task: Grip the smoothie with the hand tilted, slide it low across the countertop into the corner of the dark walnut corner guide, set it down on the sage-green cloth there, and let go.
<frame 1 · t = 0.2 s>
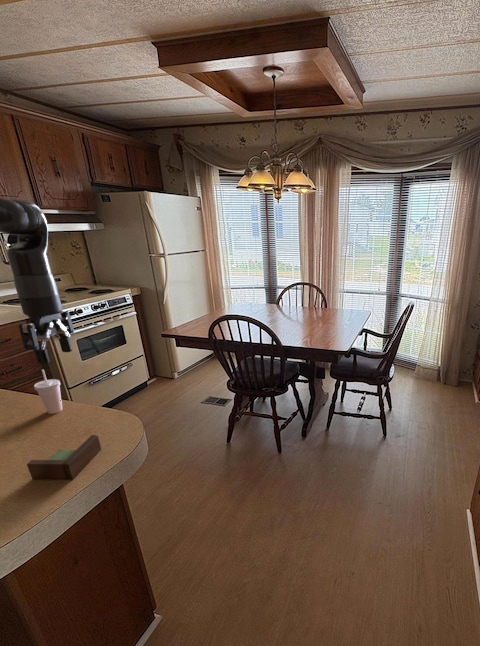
hand: (56, 357, 86), 24 cm above the table, tool pointing down, fingers open, 8 cm apart
smoothie: (55, 411, 109), on the table
corner guide: (64, 465, 85), on the table
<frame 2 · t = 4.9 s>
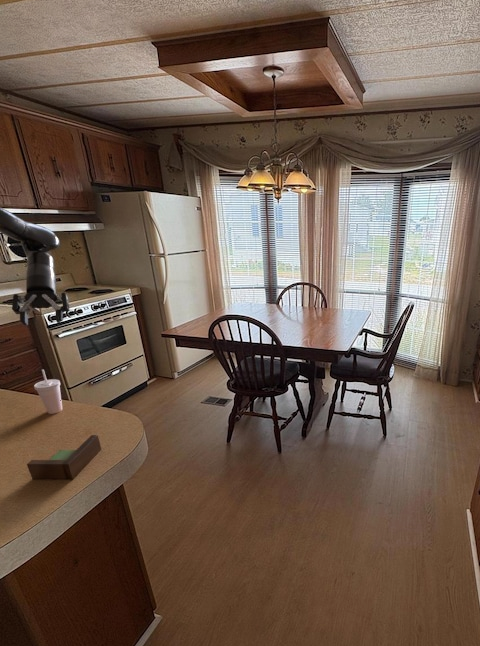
hand: (42, 322, 108), 26 cm above the table, tool tilted 45°, fingers open, 8 cm apart
nothing on the table moved.
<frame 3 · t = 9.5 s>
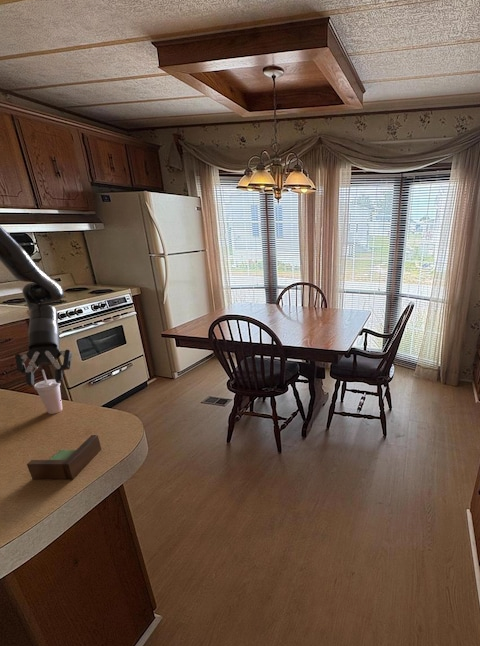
hand: (44, 383, 103), 10 cm above the table, tool tilted 45°, fingers closed on smoothie, 6 cm apart
smoothie: (55, 411, 109), on the table, touching gripper
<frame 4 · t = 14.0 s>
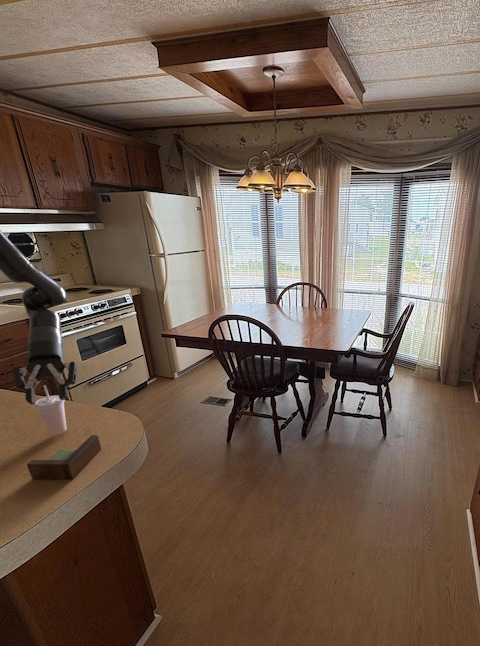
hand: (47, 401, 91), 12 cm above the table, tool tilted 45°, fingers closed on smoothie, 6 cm apart
smoothie: (58, 431, 96), point 1 cm above the table, touching gripper
when the fingers open (11 cm above the table, at t = 18.3 s): smoothie stays where it is, resting on corner guide.
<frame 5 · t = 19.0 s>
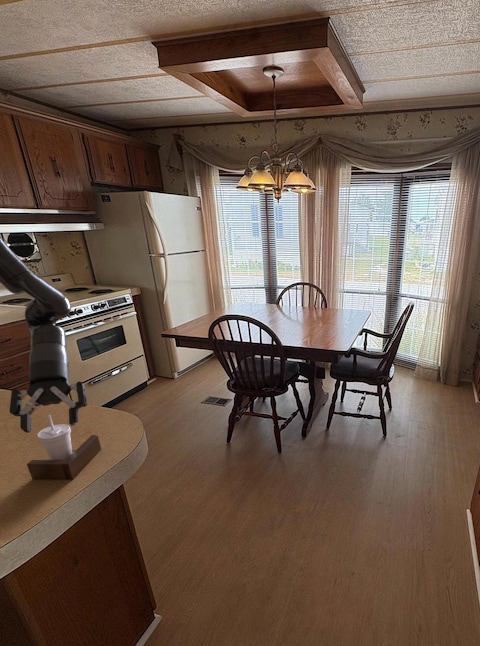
hand: (50, 428, 79), 12 cm above the table, tool tilted 45°, fingers open, 8 cm apart
smoothie: (64, 464, 85), resting on corner guide
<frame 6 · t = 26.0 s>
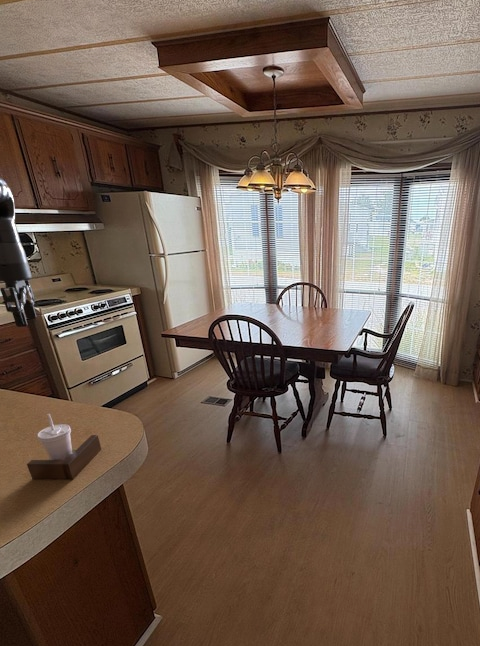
hand: (27, 322, 93), 30 cm above the table, tool pointing down, fingers open, 8 cm apart
nothing on the table moved.
at the end: smoothie 0.9 cm from the target spot on the corner guide, point 0.1 cm above the corner guide's base; smoothie tilted 0°; the gripper is holding nothing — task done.
